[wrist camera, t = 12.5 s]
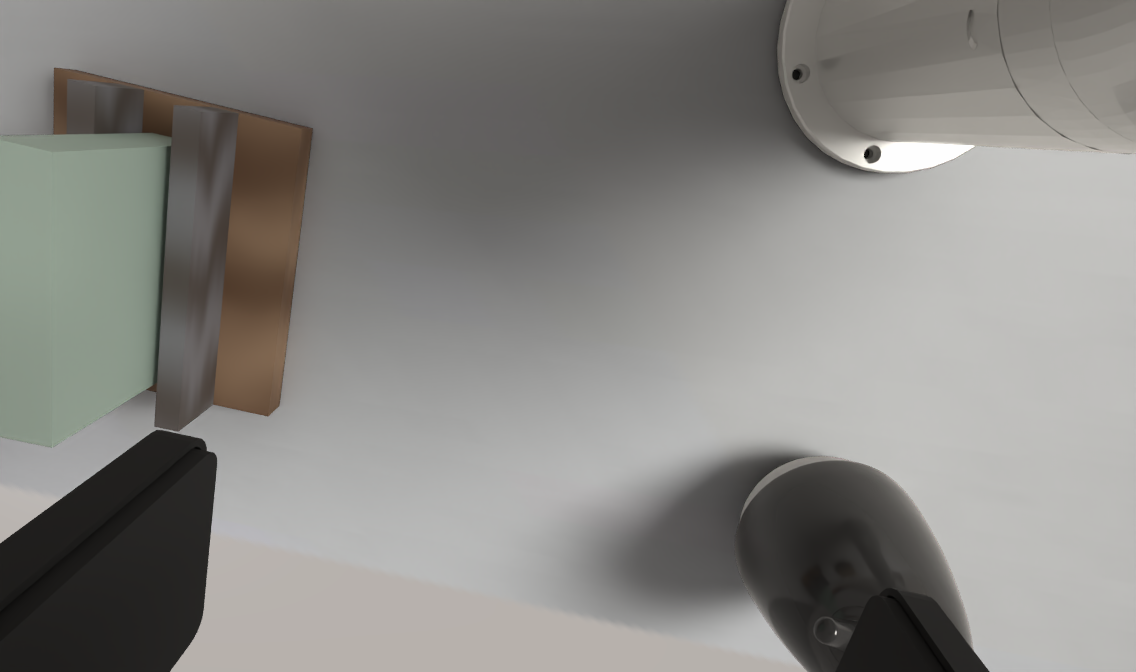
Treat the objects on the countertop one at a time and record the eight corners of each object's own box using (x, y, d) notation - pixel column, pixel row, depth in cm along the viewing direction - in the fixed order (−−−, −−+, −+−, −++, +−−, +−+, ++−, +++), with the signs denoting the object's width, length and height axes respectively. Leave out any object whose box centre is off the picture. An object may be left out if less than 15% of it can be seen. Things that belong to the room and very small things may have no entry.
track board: (75, 70, 34) (-6, 61, 29) (312, 128, 35) (271, 129, 30) (70, 360, 38) (-1, 393, 34) (279, 405, 39) (238, 444, 34)
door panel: (152, 132, 33) (-17, 135, 24) (201, 144, 33) (52, 152, 24) (142, 354, 37) (-9, 435, 27) (186, 364, 37) (52, 447, 27)
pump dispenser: (794, 396, 39) (927, 558, 24) (922, 490, 41) (1117, 692, 26) (683, 520, 41) (744, 732, 27) (809, 603, 43) (929, 844, 29)
